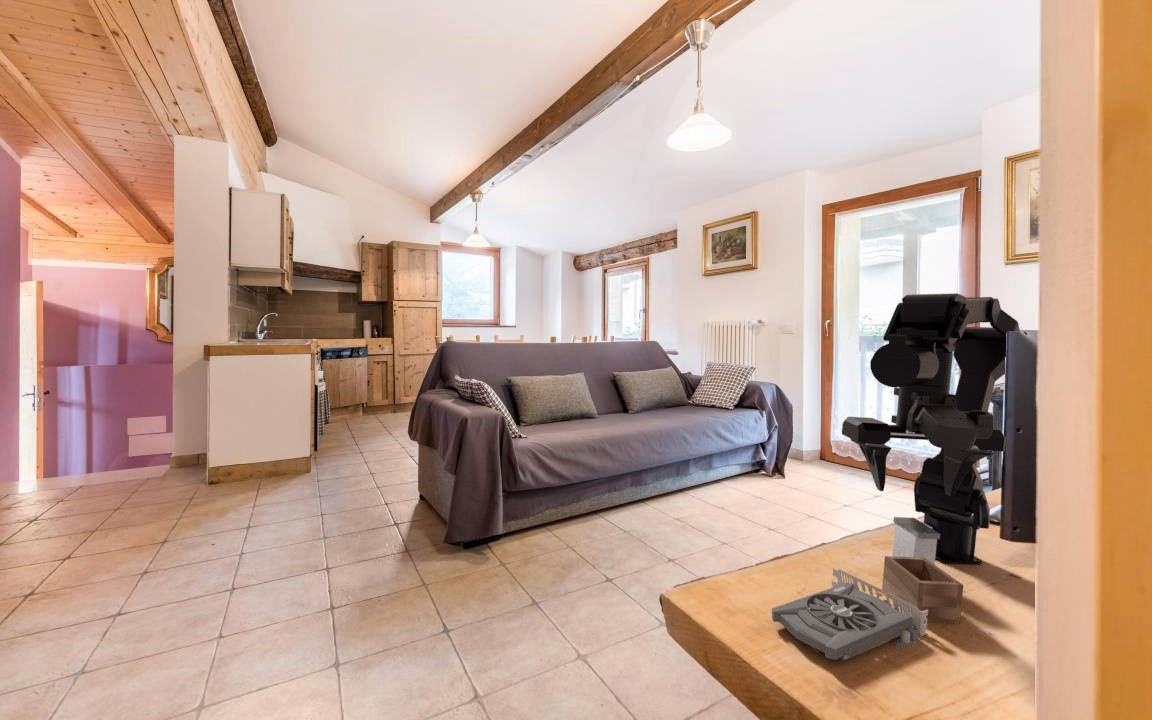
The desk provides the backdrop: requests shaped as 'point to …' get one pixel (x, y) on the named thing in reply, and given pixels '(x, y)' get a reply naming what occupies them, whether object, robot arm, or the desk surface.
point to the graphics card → (850, 619)
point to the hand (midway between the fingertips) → (914, 492)
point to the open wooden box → (923, 587)
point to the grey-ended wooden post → (914, 539)
